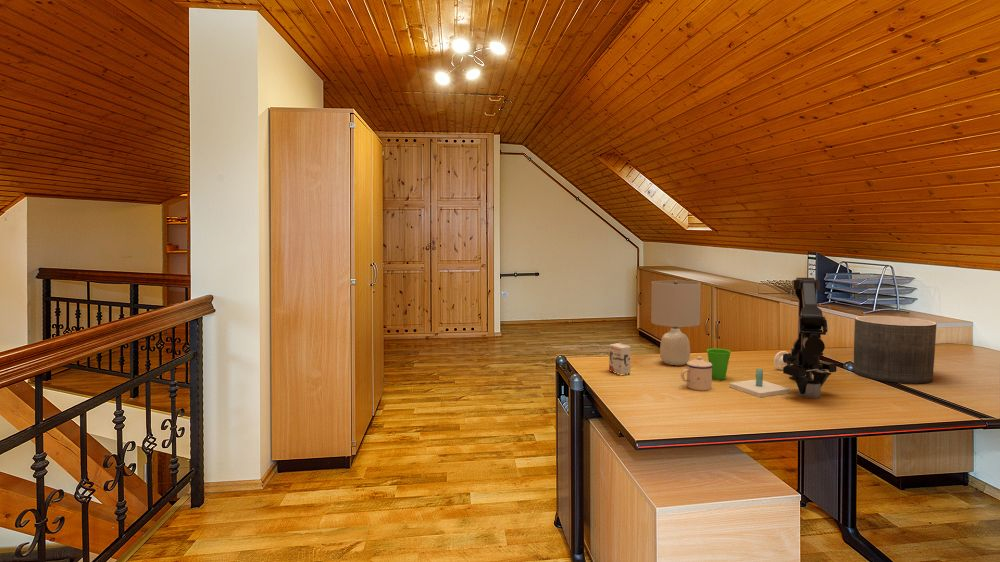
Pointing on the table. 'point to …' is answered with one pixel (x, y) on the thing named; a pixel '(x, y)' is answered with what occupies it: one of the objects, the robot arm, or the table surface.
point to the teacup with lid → (698, 374)
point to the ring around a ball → (779, 360)
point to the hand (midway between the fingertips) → (809, 392)
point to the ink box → (619, 358)
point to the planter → (894, 349)
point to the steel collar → (812, 390)
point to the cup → (718, 362)
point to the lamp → (675, 316)
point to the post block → (759, 386)
